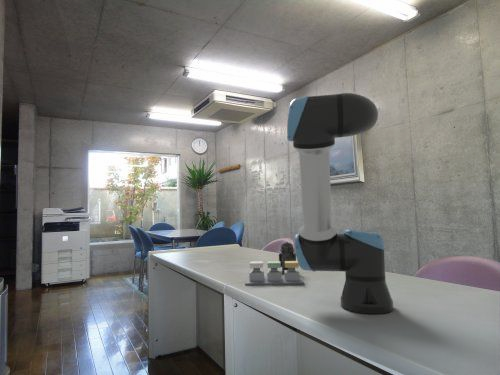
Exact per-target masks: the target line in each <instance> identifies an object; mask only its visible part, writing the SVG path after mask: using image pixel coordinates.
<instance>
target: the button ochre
mask: <svg viewBox="0 0 500 375" xmlns="http://www.w3.org/2000/svg"><path fill="white" fill-rule="evenodd" d="M285 268H288V272H295V270H296V269H298V268H300V266H299V264H298V261H297V260H296V261H285Z"/></svg>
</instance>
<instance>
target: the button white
mask: <svg viewBox="0 0 500 375" xmlns="http://www.w3.org/2000/svg"><path fill="white" fill-rule="evenodd" d="M249 268H250V269H252V271H253V273H260V270H261V269H263V268H264V261H262V260H261V261H260V260H259V261H256V260H255V261H253V260H252V261H250V262H249Z"/></svg>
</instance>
